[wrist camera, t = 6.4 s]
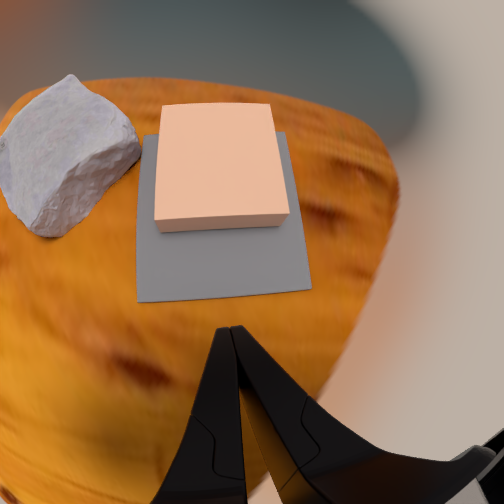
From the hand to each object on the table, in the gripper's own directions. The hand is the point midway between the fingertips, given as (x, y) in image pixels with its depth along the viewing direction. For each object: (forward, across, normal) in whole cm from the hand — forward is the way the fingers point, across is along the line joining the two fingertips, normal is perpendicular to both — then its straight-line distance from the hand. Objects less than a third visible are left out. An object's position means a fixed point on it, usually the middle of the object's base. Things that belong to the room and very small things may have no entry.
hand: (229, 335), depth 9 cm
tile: (+7, -1, 0) cm, 7 cm away
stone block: (+14, +11, -4) cm, 18 cm away
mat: (+10, -1, -1) cm, 10 cm away
